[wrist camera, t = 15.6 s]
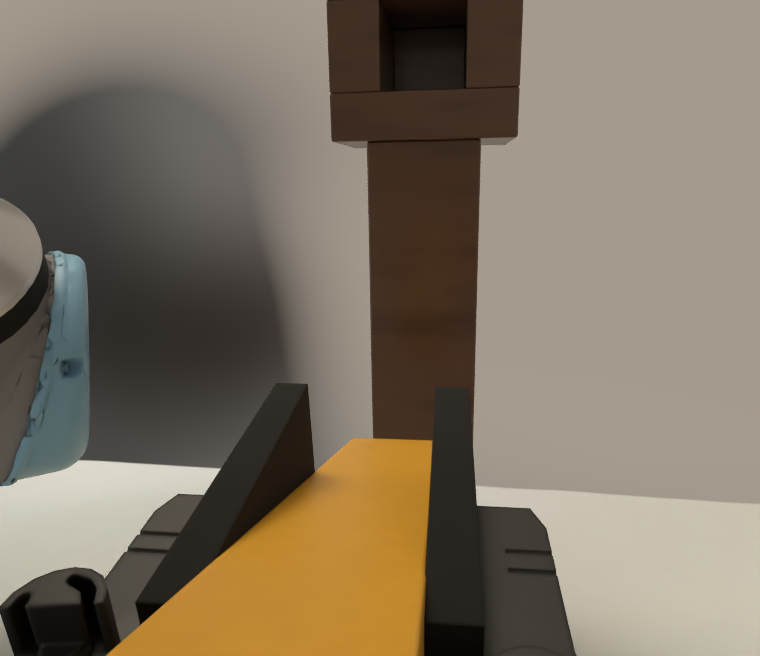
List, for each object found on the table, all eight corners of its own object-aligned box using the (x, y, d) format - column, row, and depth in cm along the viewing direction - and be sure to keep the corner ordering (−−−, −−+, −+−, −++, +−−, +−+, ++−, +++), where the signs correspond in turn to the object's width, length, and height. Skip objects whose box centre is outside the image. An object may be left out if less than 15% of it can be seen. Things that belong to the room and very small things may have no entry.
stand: (344, 553, 41) (324, 9, 32) (516, 565, 40) (545, -3, 31) (300, 699, 30) (251, -83, 21) (540, 724, 28) (598, -110, 19)
